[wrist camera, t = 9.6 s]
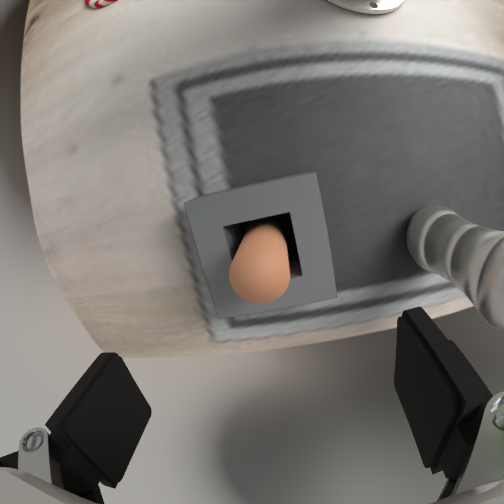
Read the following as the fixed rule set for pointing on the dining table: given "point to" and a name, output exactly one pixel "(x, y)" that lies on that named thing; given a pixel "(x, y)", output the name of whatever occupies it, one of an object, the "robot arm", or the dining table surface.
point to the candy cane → (99, 3)
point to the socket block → (254, 207)
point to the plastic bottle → (461, 257)
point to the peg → (261, 263)
